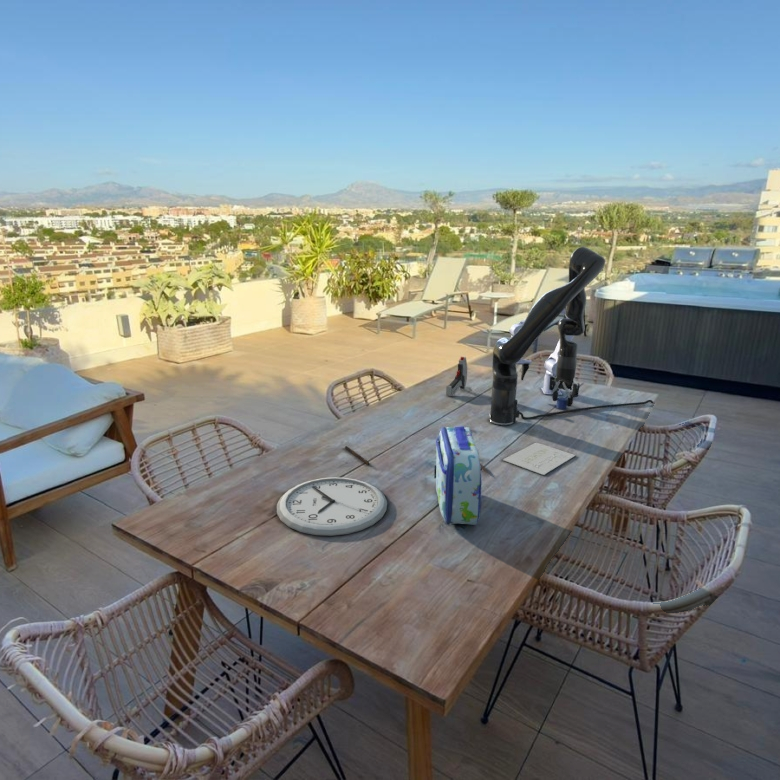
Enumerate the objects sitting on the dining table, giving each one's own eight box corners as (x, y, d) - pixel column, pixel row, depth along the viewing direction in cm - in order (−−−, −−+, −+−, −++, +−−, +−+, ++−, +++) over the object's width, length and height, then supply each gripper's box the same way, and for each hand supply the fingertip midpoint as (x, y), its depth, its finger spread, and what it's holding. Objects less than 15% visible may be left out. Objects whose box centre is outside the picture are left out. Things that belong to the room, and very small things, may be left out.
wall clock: (392, 527, 129) (268, 531, 127) (391, 533, 130) (269, 537, 127) (383, 473, 158) (282, 475, 155) (383, 478, 158) (282, 480, 156)
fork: (483, 474, 162) (483, 469, 161) (463, 454, 176) (463, 448, 176) (491, 474, 162) (491, 468, 162) (470, 453, 177) (470, 447, 176)
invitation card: (535, 442, 186) (575, 454, 176) (535, 442, 187) (575, 455, 176) (502, 459, 172) (543, 474, 162) (502, 460, 172) (543, 475, 162)
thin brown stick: (344, 448, 179) (344, 445, 179) (346, 448, 179) (346, 445, 179) (367, 464, 167) (367, 462, 167) (368, 464, 167) (368, 461, 167)
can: (554, 407, 225) (555, 397, 224) (561, 405, 227) (563, 396, 225) (560, 410, 222) (561, 400, 220) (568, 408, 223) (569, 399, 222)
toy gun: (446, 363, 232) (463, 355, 243) (446, 397, 237) (462, 387, 249) (450, 364, 230) (467, 356, 242) (450, 398, 236) (466, 388, 247)
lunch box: (432, 483, 156) (435, 417, 149) (468, 484, 156) (473, 418, 149) (439, 532, 131) (443, 455, 125) (482, 533, 131) (488, 456, 124)
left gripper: (586, 368, 215) (581, 406, 220) (559, 361, 226) (554, 397, 231) (574, 371, 211) (569, 409, 216) (547, 363, 223) (542, 399, 227)
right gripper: (500, 352, 234) (498, 381, 238) (533, 353, 233) (530, 382, 237) (499, 348, 241) (497, 376, 245) (531, 349, 239) (528, 378, 243)
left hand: (561, 403), depth 224 cm, fingers open, 7 cm apart
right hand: (513, 379), depth 241 cm, fingers open, 7 cm apart
